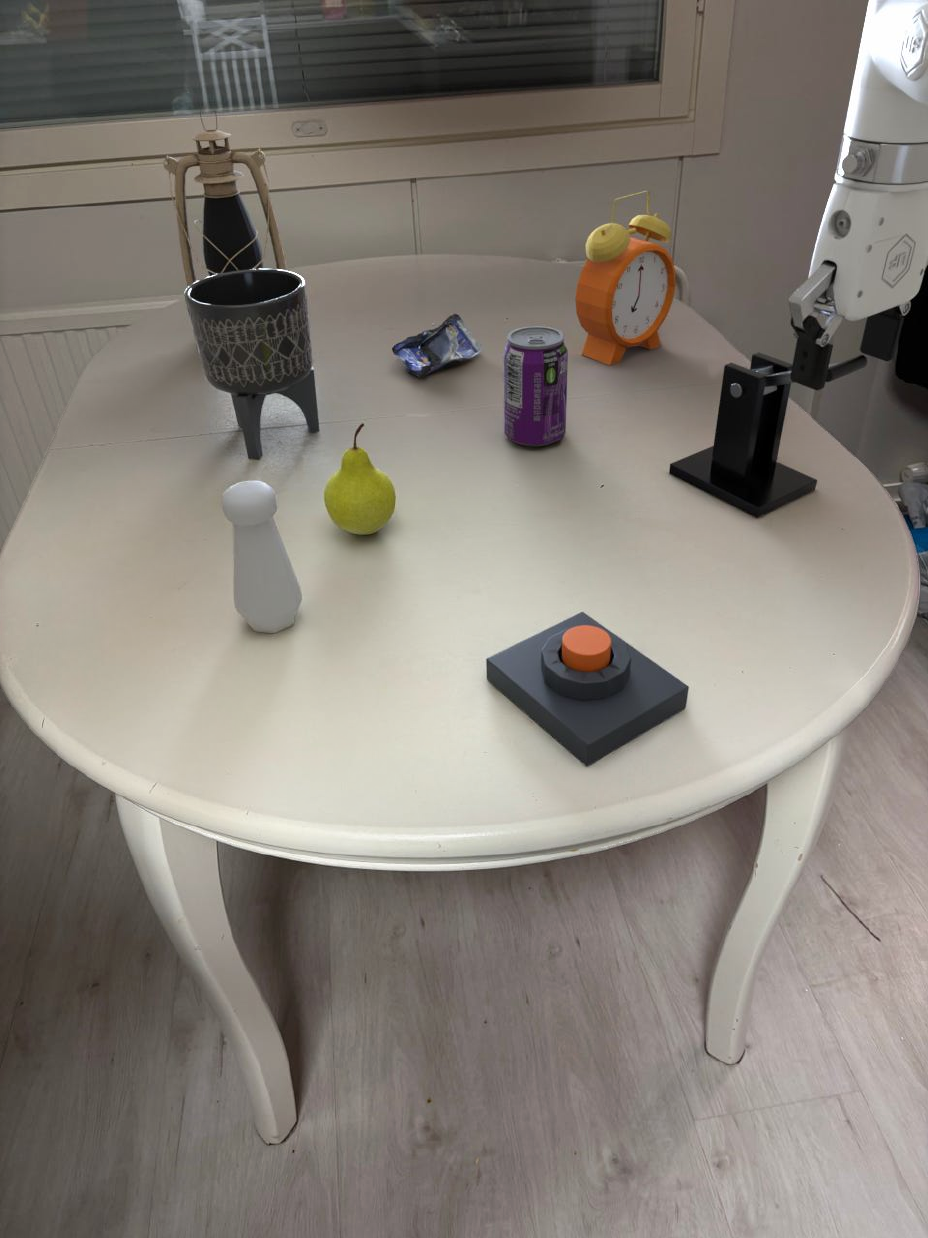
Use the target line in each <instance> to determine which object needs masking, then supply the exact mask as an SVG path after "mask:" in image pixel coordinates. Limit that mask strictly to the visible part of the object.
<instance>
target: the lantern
mask: <svg viewBox="0 0 928 1238" xmlns="http://www.w3.org/2000/svg"><path fill="white" fill-rule="evenodd" d="M207 108H208V109H211V110H213V112H214V115H215V124H216V126H215V127H216V128H213V129H206V128H205V126H204V122H203V119H202V111H203V110H205V109H207ZM199 116H200V117H199V118H200V121H201V124H202V127H203V130H204V131H200V132H199V133H197V134H196V135H193V136H191V138H190V139H191V140H192V141H195V145H196V149H197V150H196V151H197V153H196V154H189V155H185V156H183V157H182V158H180V159H179V160H178V159H176V158H174V157H172V156H169V155H167V154H166V157H165V159H164V160H163V162H162V164H163V165H162V166H163V168H164V169H165V170H166V171H167V172H168V178H169V187H170V188H169V189H170V197H171V200H172V203H173V206H174V209H175V211H176V212H175V213H176V223H177V231H178V240H179V246H180V254H181V260H182V261H181V262H182V267H183V272H184V277H185V278H184V279H185V282H186V286H187V288H188V287H189V286H190V285H192V284H193V283H195V282H197V278H196V272H195V266H194V260H193V255H194V258H195V259H196V261H197V263H198V265H199V266H201V267H202V268H203V269H204V270H206V271H207V273H208V275H209V277H210V276H213V275H216V274H221V273H225V272H231V271H237V270H247V269H264V259H265V256H266V251H267V245H268V237H269V238H270V243H271V246H272V247H271V248H272V251H273V256H274V260H275V266H276V267H275V268H276V270H284V271H288V267H287V262H286V256H285V251H284V247H283V242H282V238H281V233H280V229H279V226H278V220H277V218H276V213H275V210H274V206H273V202H272V199H271V196H270V195H271V194H270V189H269V188H270V187H269V185H270V180H269V176H268V173H267V168H266V165H265V163H266V154H265V152H263V151H262V150H261V148H258V150H255V151H254V152H252V154H250V153H247V152H244V151H232V150H231V149H230V143H229V138H230V137H232V134H231V133H230V132H226V131H225V132H224V131H222V130H219V129H218V115H217V112H216V110H215V109H214V108H213V107H211V106H203V107H202V108H201V109H200V111H199ZM221 140H224V146H223V145H217V141H221ZM201 142H208V144H209V146H206V147H203V146H202V145H201ZM234 164H242V165H245V166H246V167H247V169H249V171H250V175H251V177H252V179H253V182H254V184H255V188H256V191H257V194H258V197H259V201H260V203H261V207H262V211H263V215H264V218H265V222H266V235H265V236H266V237H265V245H264V249H263V251H262V247H261V244H260V240H259V237H258V235H259V233H258V230H257V228H256V227H255V226H254V224H253V221H252V219H251V217H250V214H249V210H248V209H247V207H246V205H245V202H244V200H243V198H242V195H241V194H240V193H241V190H240V189H238V183H237V182H238V180H240V179H242V178H244V173H243V172H241V171H237V170H236V169H235V165H234ZM262 166H263V169H264V173H265V177H266V179H265V177H264V174H263V172H262V170H261V167H262ZM194 167H199V171H200V173H199V174H197V175H196V176H194V177H193V181H194V182H195V183H199V184H202V186H203V191H204V192H203V194H202V195H203V196H204V198H203V211H202V220H198V219H196V220H195V219H194V222H193V224H194V227H195V228H196V230H197V231H198V232H199V233H200V234H201V236H202V252H203V260H204V263H205V266H204V265H203V264H202V263H201V262H200V261H199V259H198V257H197V255H196V253H195V251H194V248H193V246H192V244H191V240H190V239H191V238H190V230H189V219H188V209H187V208H188V207H187V194H186V193H187V192H186V185H187V183H186V182H187V181H186V180H187V178H186V177H187V172H188V171H189V169H190V168H194ZM171 174H172V175H173V176H174V196H173V185H172V176H171ZM266 181H267V182H266ZM196 222H199V223H201V224H202V232H201V230H200V229H199V228H198V227H197V223H196ZM192 253H193V254H192Z"/></svg>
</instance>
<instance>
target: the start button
mask: <svg viewBox="0 0 928 1238" xmlns="http://www.w3.org/2000/svg"><path fill="white" fill-rule="evenodd" d="M610 652H611V638H610V636H609V635H608V633H607V632H605V631H604V630H603V629H601V628H598V627H595V626H589V625H582V626H576V627H573V628H571V629H569V630H568V631H567V632H566V633H565V634H564V636H563V639H562V660H563V662H564V664H565V665H566V666H567V667H568V668H570V669H572V670H576V671H580V672H584V673H586V672H596V671H600V670H602V669H604V668H605V667H606V666H607V665H608V663H609V661H610Z"/></svg>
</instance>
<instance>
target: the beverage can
mask: <svg viewBox="0 0 928 1238" xmlns="http://www.w3.org/2000/svg"><path fill="white" fill-rule="evenodd" d="M506 336H507V338H506V340H507V342H506V345H505V347H504V349H503V353H502V354H503V355H502V359H503V360H502V361H503V368H502V369H503V373H502V374H503V433H504V435H505V437H506V438H507V439H509V440H510V441H512V442H514V443H517V444H519V445H521V446H526V447H532V448H533V447H534V448H535V447H536V448H537V447H544V446H548V445H550V444H552V443H554V442H557V441H559V440H561V439H562V438H564V436H565V435H566V432H567V403H568V402H567V401H568V399H567V397H568V368H569V367H568V366H569V365H568V363H569V351H568V348H567V345H566V344H565V334H564V333H563V331H561V330H559V329H557V328H554V327H550V326H544V325H543V326H542V325H532V326H531V325H530V326H523V327H519V328H516V329H513V330H511V331H509V333H508V334H507V335H506Z"/></svg>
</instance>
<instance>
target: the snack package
mask: <svg viewBox="0 0 928 1238" xmlns="http://www.w3.org/2000/svg"><path fill="white" fill-rule="evenodd" d="M435 325H436V322H435V323H433V324H432V325H431V326H432V327H433V326H435ZM482 346H483V345H482V344H479V342H478V341H477V339H476V337H475V335H474V334H473V333H472V332H471V330H470V329H468V327H467V326H466V324H465V322H464V320H463V319H462V317H461V316H460V315H459V314H457V313H454V314H452V315H451V314H450V315H449V316H448V317H447V318H446V319H445V320H444V321H443V322H442V323H441V324H439V326H438V327H435V328H433V329H428V330H427V329H426V330H424V331H422V332H421V333H418V334H416V335H412V336H408V337H406V338H405V339H403V340H402V341H400V342H398V343H396V344H394V345H393V346H392V348H391V352H392V353H393V355H394V356H397V357H398V358H399V359H400V360H401V362H402V363H403V365H404V366H405V368H406V369H407V371H408V374H411V375H415V376H417V377H419V378H424V377H426V376H427V375H428V374H431V373H432V372H434V371H436V370H438V369H440V368H443V367H444V366H445V365H446V364H448V363H451V362H456V361H460V360H466V359H471V358H474V357H475V356H476V355H478V354H479V353H480V352H481V351H482V350H483V348H482Z"/></svg>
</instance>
